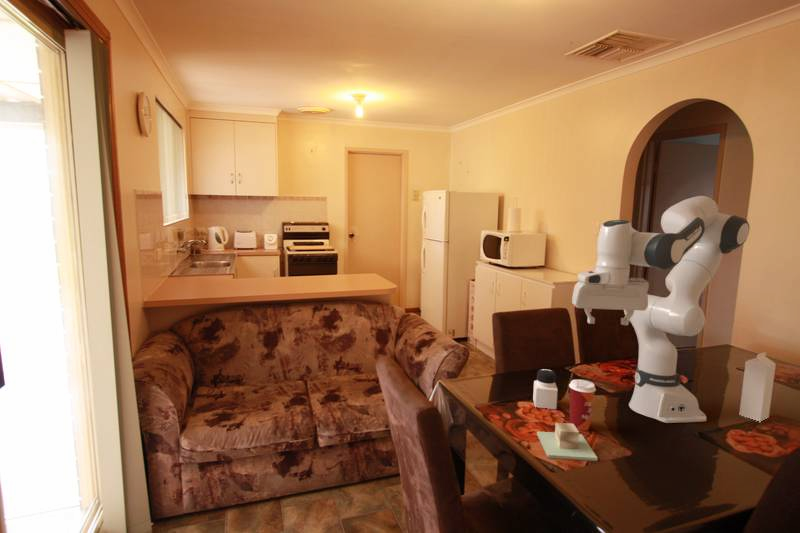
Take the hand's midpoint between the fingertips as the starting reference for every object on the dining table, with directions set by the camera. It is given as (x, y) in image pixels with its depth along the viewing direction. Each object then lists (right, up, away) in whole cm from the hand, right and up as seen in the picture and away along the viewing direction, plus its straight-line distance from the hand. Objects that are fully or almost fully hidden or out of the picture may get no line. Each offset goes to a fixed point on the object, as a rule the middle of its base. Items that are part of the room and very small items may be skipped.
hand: (607, 324), depth 127 cm
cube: (-13, -34, -3) cm, 36 cm away
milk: (+58, -34, +19) cm, 69 cm away
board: (-13, -34, -3) cm, 37 cm away
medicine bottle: (-10, -31, +25) cm, 41 cm away
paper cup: (-4, -33, +9) cm, 35 cm away
